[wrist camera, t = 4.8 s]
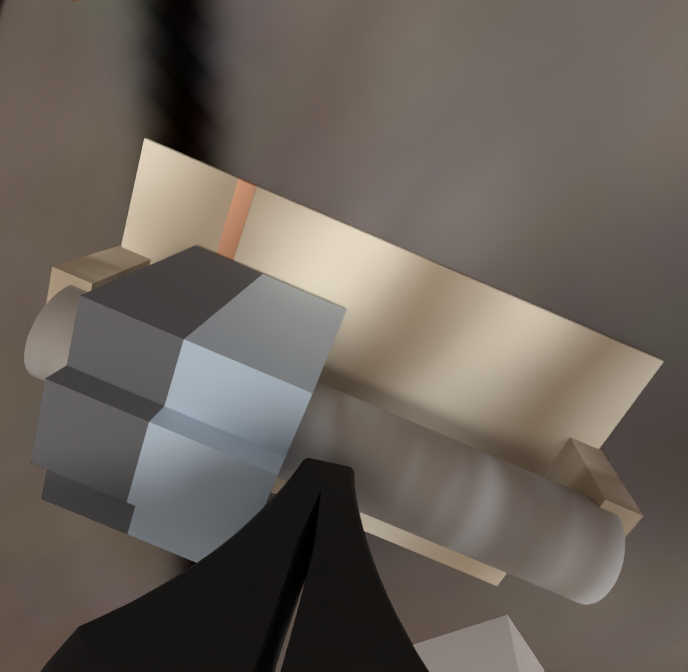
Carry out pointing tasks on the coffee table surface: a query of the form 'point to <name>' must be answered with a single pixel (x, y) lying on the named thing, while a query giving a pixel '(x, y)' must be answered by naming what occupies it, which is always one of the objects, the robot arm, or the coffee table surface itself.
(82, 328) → the grey notched block
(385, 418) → the pipe rig
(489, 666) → the bracket
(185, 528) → the sleeve
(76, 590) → the coffee table surface
